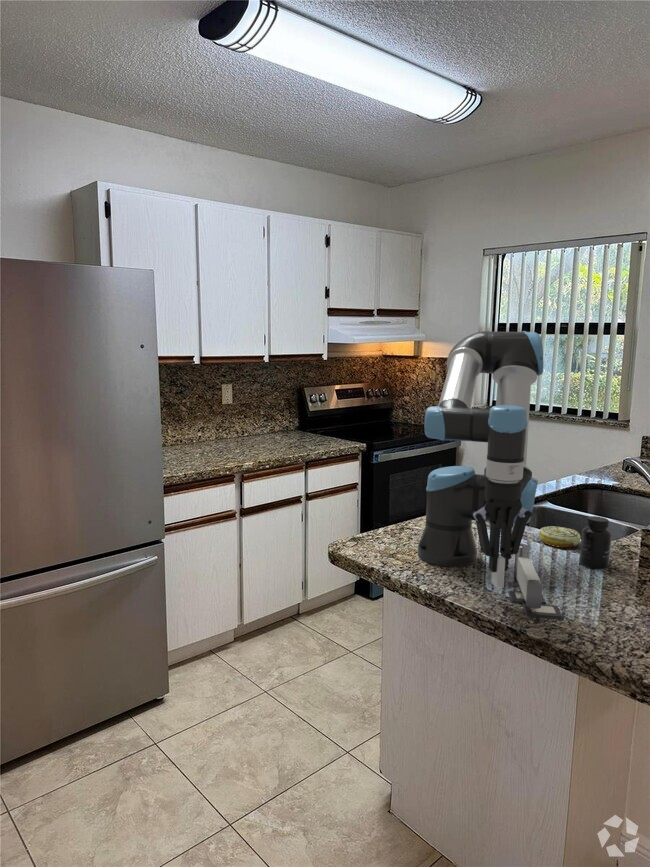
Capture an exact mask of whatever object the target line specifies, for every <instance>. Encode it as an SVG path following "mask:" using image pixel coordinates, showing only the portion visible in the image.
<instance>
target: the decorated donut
mask: <svg viewBox="0 0 650 867" xmlns="http://www.w3.org/2000/svg"><path fill="white" fill-rule="evenodd" d="M538 536H539V538H540V540H541V541H542V543H544V544H545V543H547V544H550V545H554V546H553V547H556V546H559V547H558V548H560V547H561V548H563V547H566V548H572V547H576V546H578V545H579V544H580V543H581V538H582V535H581V534H580V533H579V532H578V531H577V530H575V529H572V528H567V527H564V526H563V527H562V526H555V525H554V526H553V525H550V526H544V527H541V528H540V529H539V532H538ZM547 544H546V545H547ZM550 545H549V546H550Z"/></svg>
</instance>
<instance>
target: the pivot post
mask: <svg viewBox="0 0 650 867" xmlns="http://www.w3.org/2000/svg"><path fill="white" fill-rule="evenodd" d="M518 557H523V558H530V545H529V544H525V543H521V544H520V547H519V550H518V553H517V554H514V568H513V573H511V574H510V576H509V577H508V579H507V580H506V585H507V586H511V587H517V588H520V586H519V583H518V581H517V578H516V577H517V562H518Z"/></svg>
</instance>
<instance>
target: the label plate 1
mask: <svg viewBox="0 0 650 867" xmlns="http://www.w3.org/2000/svg"><path fill="white" fill-rule="evenodd" d="M508 595H509V598H510V600H511V603H512V604H523V603H526V601H525V598H524V596H523V593H522V591H521V590H508ZM541 604H543V605H547V602H546V600H545V597H544V594H542V603H541Z"/></svg>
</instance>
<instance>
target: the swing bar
mask: <svg viewBox="0 0 650 867" xmlns="http://www.w3.org/2000/svg"><path fill="white" fill-rule="evenodd" d="M537 573H538V572H537V571H536V569H535V567H534V565H533V562H532V561H531V559H530V557H529V558H523V557H518V562H517V577H516V578H517V581H518V583H519V586H520V587H519V589H520V591H522V593H523V596H524V598H525V601H526V606H527V607H529V608H533V609H539V608H541V603H542V595H543V589H544V586H543V585H544V583H543V581H541V580H540V577H539V575H538V574H537Z"/></svg>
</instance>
